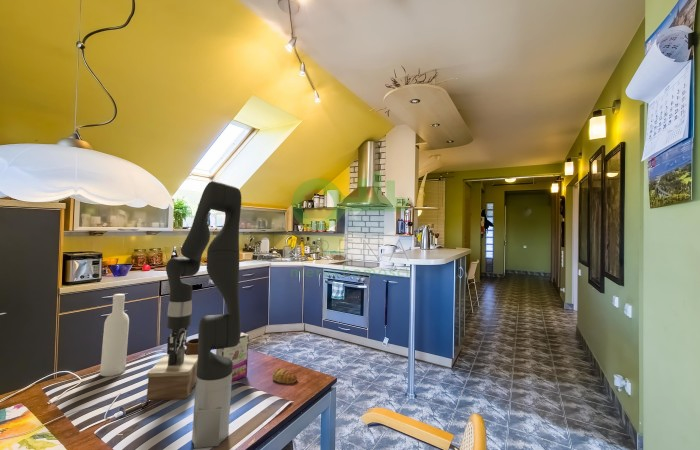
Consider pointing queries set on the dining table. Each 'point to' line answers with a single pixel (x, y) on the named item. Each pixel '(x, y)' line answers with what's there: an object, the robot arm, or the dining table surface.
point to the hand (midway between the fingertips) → (176, 360)
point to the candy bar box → (237, 357)
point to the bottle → (115, 339)
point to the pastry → (284, 376)
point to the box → (171, 386)
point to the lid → (181, 368)
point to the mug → (191, 347)
